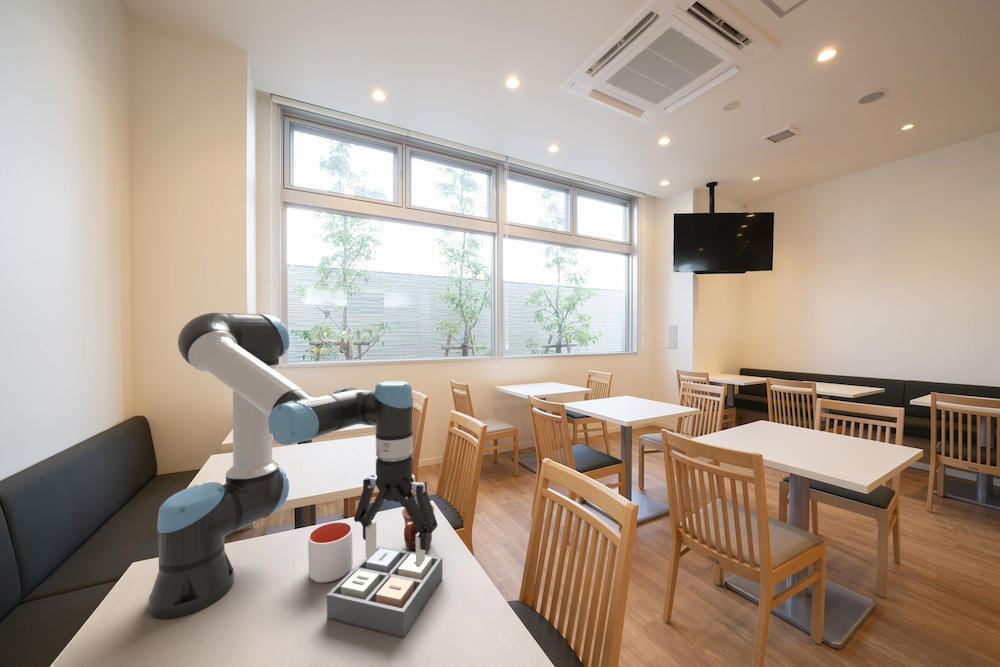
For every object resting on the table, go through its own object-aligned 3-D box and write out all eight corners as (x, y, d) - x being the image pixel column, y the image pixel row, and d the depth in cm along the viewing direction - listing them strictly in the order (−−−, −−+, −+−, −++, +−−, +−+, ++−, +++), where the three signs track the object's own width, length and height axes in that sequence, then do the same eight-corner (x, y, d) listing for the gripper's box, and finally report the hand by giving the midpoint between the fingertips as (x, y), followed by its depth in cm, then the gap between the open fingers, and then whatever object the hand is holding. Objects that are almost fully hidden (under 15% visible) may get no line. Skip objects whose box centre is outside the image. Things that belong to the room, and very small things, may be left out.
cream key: (398, 582, 85) (398, 567, 85) (410, 567, 90) (410, 553, 90) (420, 587, 84) (420, 571, 83) (431, 571, 89) (431, 557, 89)
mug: (410, 536, 109) (410, 501, 109) (439, 539, 107) (438, 504, 107) (390, 561, 97) (390, 522, 97) (422, 565, 95) (421, 525, 95)
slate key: (365, 576, 87) (365, 561, 87) (379, 561, 93) (379, 547, 93) (386, 580, 86) (386, 565, 86) (399, 565, 91) (399, 551, 91)
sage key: (340, 602, 79) (340, 585, 79) (357, 584, 85) (357, 569, 84) (363, 607, 78) (363, 590, 78) (379, 589, 83) (379, 573, 83)
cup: (352, 579, 90) (352, 538, 90) (306, 590, 87) (305, 547, 86) (352, 555, 100) (352, 518, 99) (310, 564, 96) (310, 526, 96)
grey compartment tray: (327, 619, 78) (326, 594, 78) (377, 566, 95) (377, 545, 95) (403, 638, 73) (403, 612, 73) (442, 578, 90) (442, 557, 90)
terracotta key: (376, 610, 77) (375, 593, 77) (391, 591, 82) (391, 576, 82) (400, 616, 75) (400, 598, 75) (413, 596, 81) (413, 580, 81)
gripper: (335, 456, 78) (336, 560, 78) (438, 467, 72) (438, 580, 72) (357, 445, 85) (358, 540, 85) (453, 454, 79) (453, 557, 79)
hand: (395, 558), depth 79 cm, fingers open, 11 cm apart
